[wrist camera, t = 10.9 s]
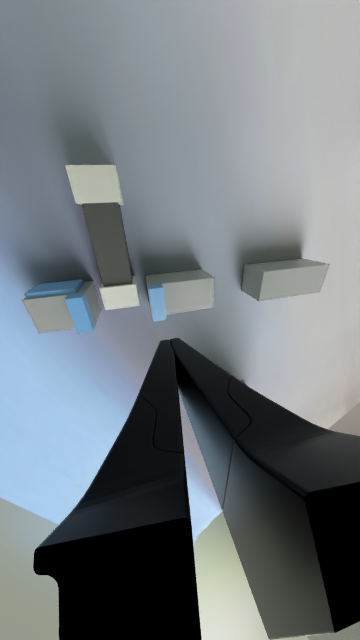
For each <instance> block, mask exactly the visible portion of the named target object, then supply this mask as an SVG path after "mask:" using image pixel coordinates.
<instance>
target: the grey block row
mask: <svg viewBox="0 0 360 640" xmlns="http://www.w3.org/2000/svg"><path fill="white" fill-rule="evenodd" d="M329 265H330V264H326V263H321V262H317V261H312V260H307V259H293V260H284V261H274V262H265V263H256V264H246V265H244V273H243V281H242V291H243V292H245V293H247V294H248V295H250V296H251V297H253V298H255V299H256V300H258V301H263V300H270V299H277V298H284V297H290V296H297V295H304V294H311V293H317V292H320V291H321V288H322V285H323V282H324V279H325V276H326V273H327V271H328V268H329ZM145 276H146V283H147V290H148V297H149V303H150V308H151V314H152V319H153V322H156V321H163V320H167V319H166V315H168V314H175V313H182V312H189V311H195V310H202V309H209V308H213V299H214V277H213V276H211V275H210V274H208V273H207V272H205V271H204V270H202V269H200V270H191V271H181V272H172V273H163V274H153V275H145ZM25 296H26V298H24V299H23V300H22V302H23V304H24V306H25V308H26V310H27V312H28V314H29V316H30V318H31V319H32V321H33V323H34V325H35V327H36V329H37V331H38V333H46V332H53V331H60V330H66V329H73V328H76V330H77V333H84V332H90V331H93V330H94V327H95V325H96V322H97V320H98V317H99V314H100V312H101V305H100V302H99V299H98V295H97V292H96V288H95V285H94V281H88V282H84V281H83V279H82V280H72V281H63V282H53V283H44V284H39V285H37V286H36V287H34V288H32V289H31V290H29V291H28V292H26V293H25Z"/></svg>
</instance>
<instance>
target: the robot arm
mask: <svg viewBox="0 0 360 640" xmlns="http://www.w3.org/2000/svg"><path fill="white" fill-rule="evenodd" d="M178 389H179V392H180V395H181V397H182V400H183V403H184V406H185V409H186V411H187V414H188V417H189V420H190V422H191V425H192V428H193V431H194V433H195V436H196V439H197V442H198V444H199V447H200V450H201V453H202V456H203V458H204V461H205V464H206V467H207V469H208V472H209V475H210V478H211V480H212V483H213V486H214V489H215V492H216V494H217V497H218V500H219V503H220V505H221V508H222V510H223V514H224V517H225V519H226V522H227V525H228V527H229V530H230V533H231V536H232V538H233V541H234V544H235V547H236V550H237V553H238V555H239V558H240V561H241V563H242V566H243V569H244V571H245V574H246V577H247V580H248V583H249V586H250V588H251V591H252V594H253V597H254V599H255V602H256V605H257V608H258V611H259V613H260V616H261V619H262V622H263V624H264V627H265V630H266V632H267V635H268V638H269V639H270V640H271V639H281V638H290V637H299V636H307V637H308V639H309V640H360V436H356V435H350V434H345V433H339V432H334V431H331V430H328V429H325V428H322V427H319V426H317V425H315V424H313V423H310V422H309V421H307V420H305V419H303V418H301V417H299V416H298V415H296V414H294V413H292V412H291V411H289V410H287V409H285V408H284V407H282V406H280V405H278V404H277V403H275V402H273V401H271V400H270V399H268V398H266V397H265V396H263V395H261V394H260V393H258V392H256V391H255V390H253V389H251V388H250V387H248V386H247V385H246V384H245V383H242V382H241V381H239V380H238V379H236V378H235V377H233V376H232V375H230V374H229V373H228V372H226V371H225V370H223V369H222V368H220V367H219V366H218V365H216V364H215V363H213V362H212V361H210V360H209V359H208V358H206V357H205V356H203V355H202V354H200V353H199V352H198V351H196V350H195V349H193V348H192V347H190V346H189V345H188V344H186V343H185V342H183V341H182V340H180V339H179V338H174V339H170V341H169V340H163V341H160V343H159V345H158V348H157V350H156V352H155V355H154V357H153V360H152V362H151V365H150V367H149V369H148V372H147V374H146V377H145V379H144V382H143V384H142V386H141V389H140V391H139V394H138V396H137V398H136V401H135V403H134V405H133V408H132V410H131V412H130V414H129V416H128V419H127V420H126V422H125V424H124V426H123V428H122V430H121V432H120V434H119V435H118V437H117V439H116V441H115V443H114V444H113V446H112V448H111V450H110V451H109V453H108V455H107V457H106V459H105V460H104V462H103V464H102V466H101V467H100V469H99V471H98V473H97V475H96V476H95V478H94V480H93V482H92V483H91V485H90V487H89V488H88V490H87V491H86V493H85V494H84V496H83V497H82V499H81V500H80V501H79V503H78V504H77V505H76V507H75V508H74V509H73V510H72V512H71V513H70V514H69V515H68V516H67V517H66V518H65V519H64V520H63V521H62V522H61V523H60V525H59V526H58V527H57V528H56V529H55V530H54V531H53V532H52V533H51V534H50V535H49V536H48V537H47V538H46V539H45V540H44V541H43V542H42V543H41V544H40V545H39V546H38V547H37V549H36V550H35V552H34V567H33V568H34V571H35V573H36V574H38V575H49V576H51V577H53V578H54V579H55V580H56V581H57V583H58V588H59V640H201V629H200V618H199V607H198V595H197V583H196V573H195V561H194V549H193V538H192V526H191V516H190V506H189V497H188V487H187V477H186V467H185V457H184V446H183V435H182V425H181V414H180V404H179V393H178Z"/></svg>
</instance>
